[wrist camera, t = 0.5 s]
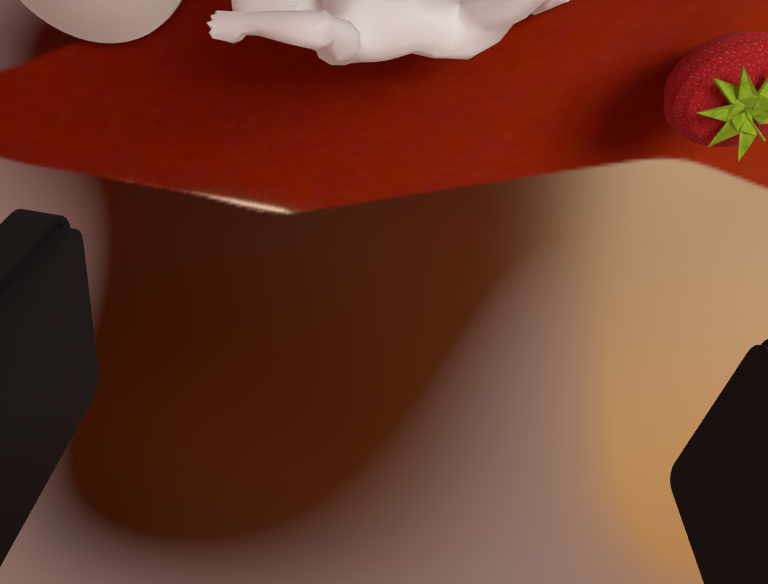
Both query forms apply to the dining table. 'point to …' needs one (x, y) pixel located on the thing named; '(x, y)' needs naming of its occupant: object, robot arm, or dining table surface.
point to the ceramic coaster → (104, 17)
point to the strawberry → (721, 91)
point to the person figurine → (377, 26)
